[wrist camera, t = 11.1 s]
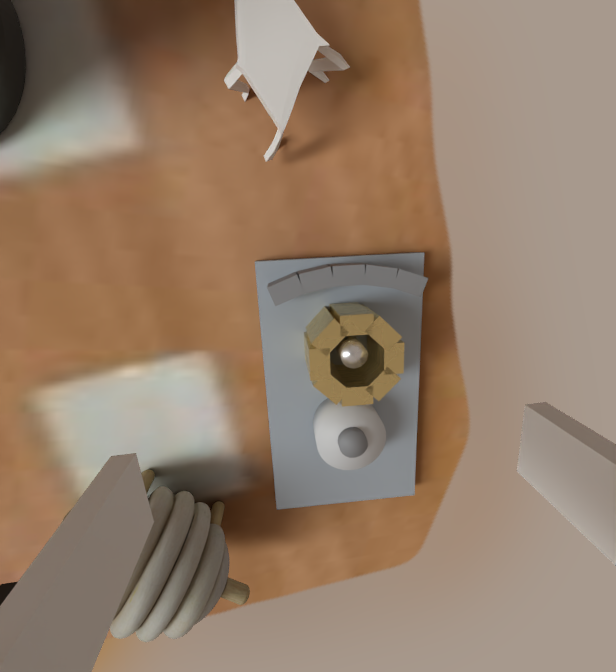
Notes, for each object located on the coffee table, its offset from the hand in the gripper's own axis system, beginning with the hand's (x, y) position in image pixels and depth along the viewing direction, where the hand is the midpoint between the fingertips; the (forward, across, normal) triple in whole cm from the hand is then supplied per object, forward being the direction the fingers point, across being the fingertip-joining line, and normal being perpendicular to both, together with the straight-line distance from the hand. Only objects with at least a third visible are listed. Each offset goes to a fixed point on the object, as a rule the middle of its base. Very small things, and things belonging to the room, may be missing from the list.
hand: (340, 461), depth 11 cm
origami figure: (+20, 0, +20) cm, 28 cm away
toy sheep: (+20, -14, -18) cm, 30 cm away
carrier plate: (+19, +4, -6) cm, 21 cm away
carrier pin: (+18, +4, -1) cm, 18 cm away
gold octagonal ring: (+18, +4, -2) cm, 18 cm away
